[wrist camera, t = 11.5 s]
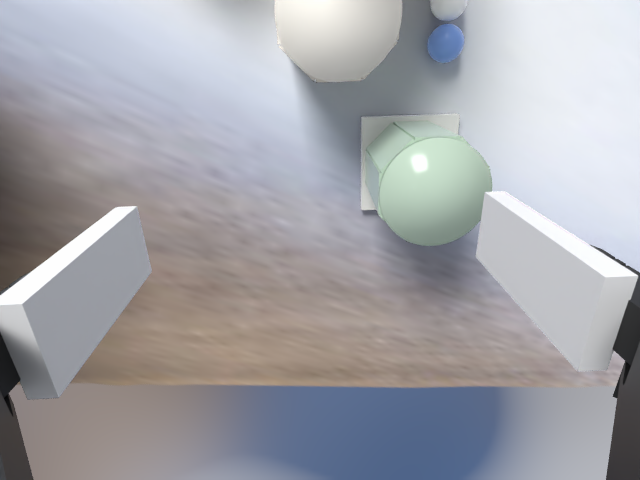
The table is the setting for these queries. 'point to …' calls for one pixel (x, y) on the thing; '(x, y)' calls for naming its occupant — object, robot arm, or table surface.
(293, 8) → the cream cup
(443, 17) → the marble
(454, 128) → the coaster
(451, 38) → the marble
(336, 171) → the table surface
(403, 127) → the sage green dome
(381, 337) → the table surface
